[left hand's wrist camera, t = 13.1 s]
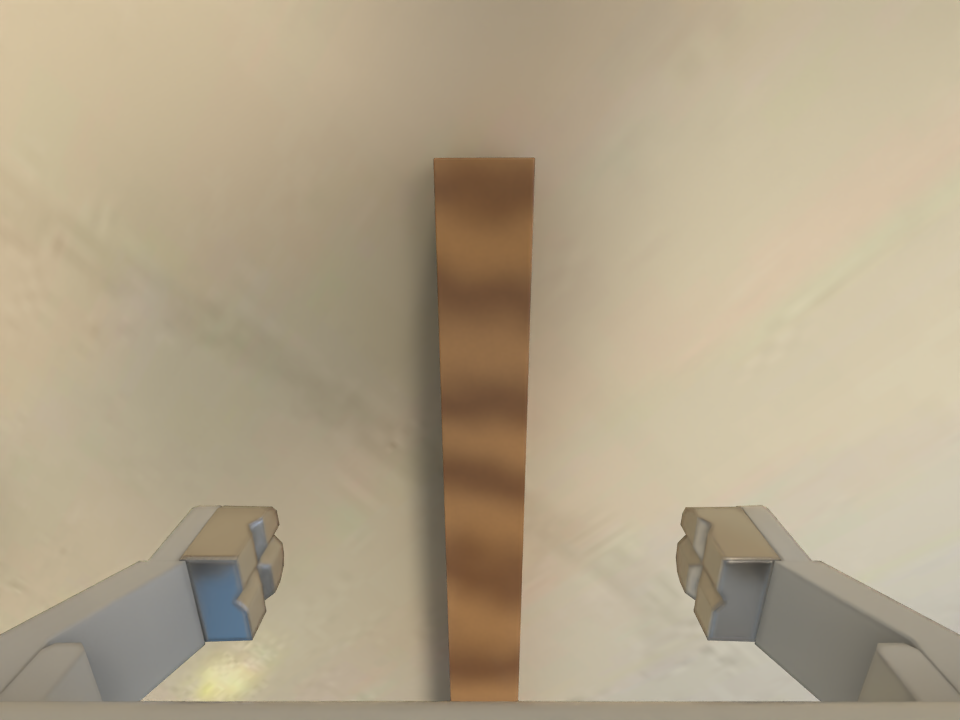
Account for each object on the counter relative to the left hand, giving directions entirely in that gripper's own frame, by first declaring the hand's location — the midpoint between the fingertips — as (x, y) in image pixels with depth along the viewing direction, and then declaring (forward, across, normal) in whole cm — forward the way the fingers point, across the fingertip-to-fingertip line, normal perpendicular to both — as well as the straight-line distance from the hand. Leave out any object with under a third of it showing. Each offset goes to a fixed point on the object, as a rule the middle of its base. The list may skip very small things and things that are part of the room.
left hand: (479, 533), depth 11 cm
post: (+24, 0, -26) cm, 36 cm away
